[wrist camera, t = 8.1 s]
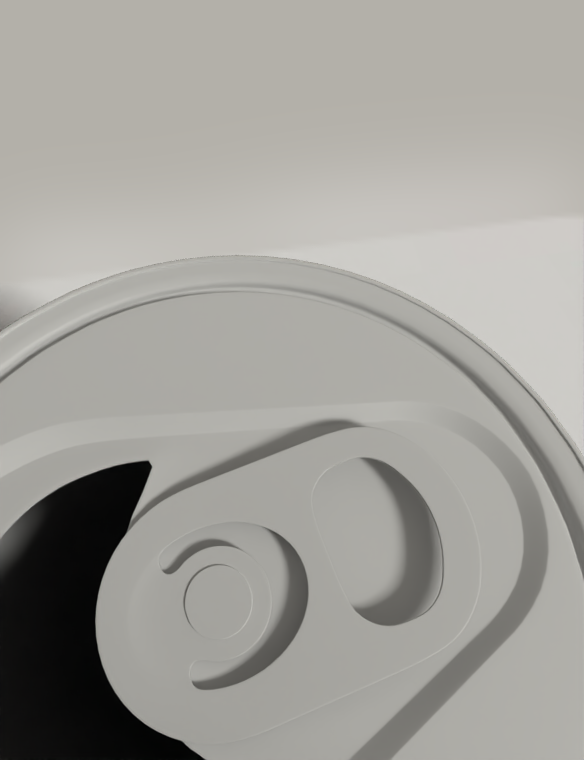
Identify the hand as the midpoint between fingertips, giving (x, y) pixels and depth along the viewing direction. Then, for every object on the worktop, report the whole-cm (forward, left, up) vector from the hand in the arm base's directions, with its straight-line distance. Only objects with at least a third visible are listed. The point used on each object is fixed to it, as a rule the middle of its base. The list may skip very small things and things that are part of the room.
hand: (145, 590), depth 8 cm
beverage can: (+2, -1, -7) cm, 8 cm away
